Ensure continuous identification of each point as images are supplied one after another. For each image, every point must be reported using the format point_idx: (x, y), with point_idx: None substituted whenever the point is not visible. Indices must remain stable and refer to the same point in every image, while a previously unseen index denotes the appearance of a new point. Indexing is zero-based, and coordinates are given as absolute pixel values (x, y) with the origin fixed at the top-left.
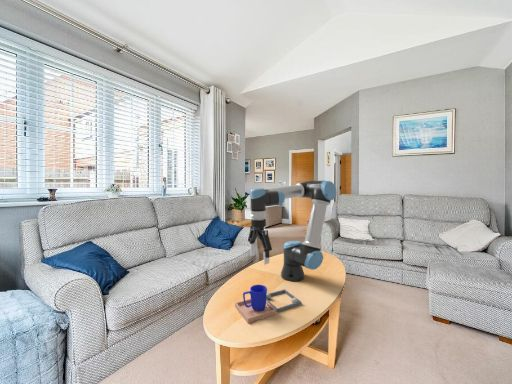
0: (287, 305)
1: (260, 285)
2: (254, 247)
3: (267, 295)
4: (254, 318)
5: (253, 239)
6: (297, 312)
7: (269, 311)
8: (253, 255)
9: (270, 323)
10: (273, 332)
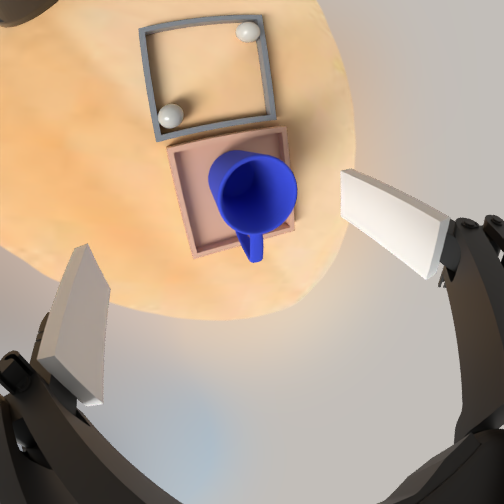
0: (267, 71)
1: (228, 177)
2: (75, 318)
3: (179, 121)
4: None
5: (128, 468)
6: (296, 57)
7: (286, 153)
8: (98, 267)
9: (314, 163)
10: None
